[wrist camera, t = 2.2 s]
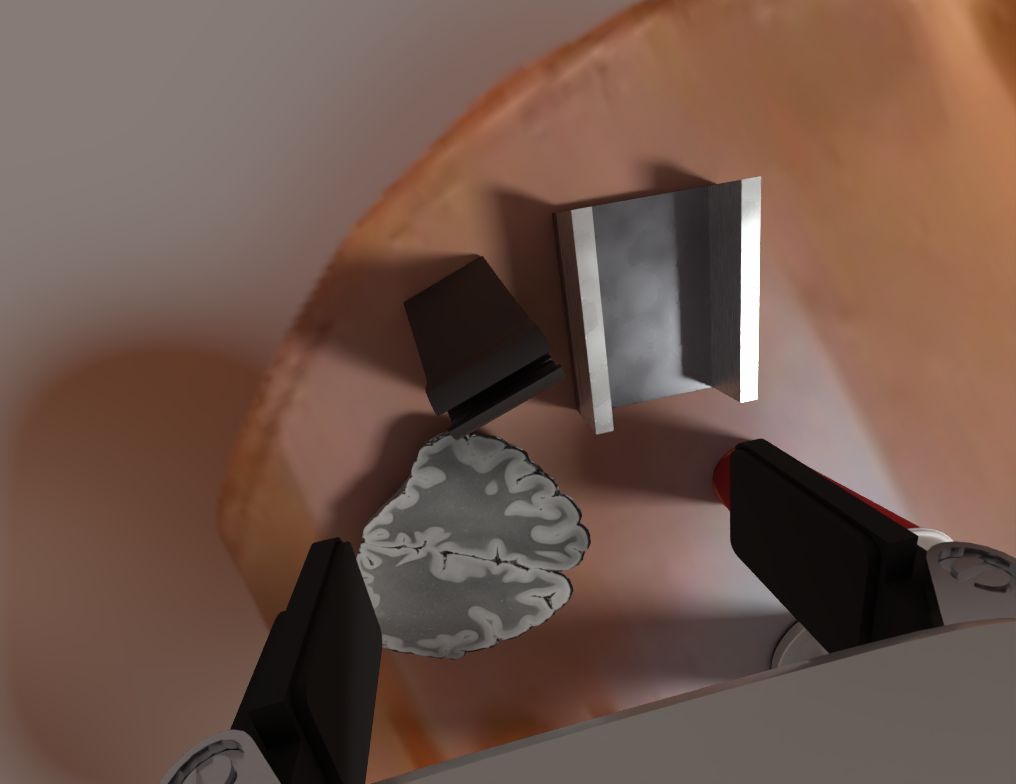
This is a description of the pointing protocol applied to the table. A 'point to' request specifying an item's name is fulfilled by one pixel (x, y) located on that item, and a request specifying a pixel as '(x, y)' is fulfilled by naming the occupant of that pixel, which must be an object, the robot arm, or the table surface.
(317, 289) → the table surface
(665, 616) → the table surface
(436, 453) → the brain slice
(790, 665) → the robot arm
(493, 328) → the phone stand
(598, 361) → the guide cradle
